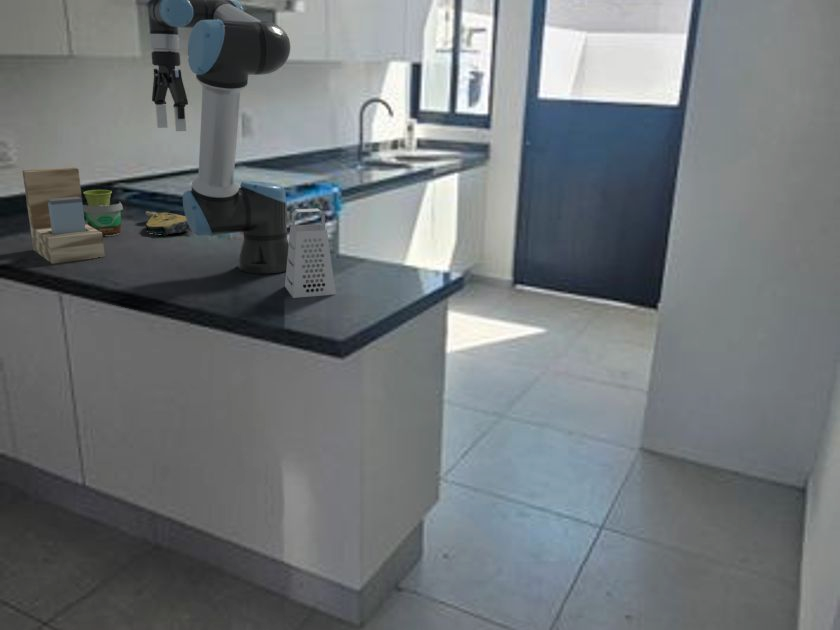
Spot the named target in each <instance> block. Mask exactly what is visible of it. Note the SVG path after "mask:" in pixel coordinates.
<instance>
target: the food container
mask: <svg viewBox="0 0 840 630" xmlns="http://www.w3.org/2000/svg"><path fill="white" fill-rule="evenodd" d="M123 209H124V208H123V204H122V203H121V201H118V203H116V204H115V203H114V204H110V205H98V206H88V204H87V205H86V204H83V212H84V216H85V218H86V219H85V220H86V224H87V225H89V226H91V227H93V228H94V229H96V230H98V231H100V232H102V236H105V235H113V234H117V233H120V232H121V233H122V231H121V230H122V229H121V228H122V227H121V226H122V224H121V222H122V210H123Z"/></svg>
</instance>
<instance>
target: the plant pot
mask: <svg viewBox="0 0 840 630" xmlns="http://www.w3.org/2000/svg"><path fill="white" fill-rule="evenodd" d="M112 193H113V192H112V190H110V189H109V190H108V189H92V190H91V189H90V190H86V191H83V195H84V197H85V198H86V203H87V206H98V205H111V198H112V197H111V195H112Z"/></svg>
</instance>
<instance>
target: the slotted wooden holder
mask: <svg viewBox="0 0 840 630" xmlns="http://www.w3.org/2000/svg"><path fill="white" fill-rule="evenodd" d="M21 172H22V177H23V185H24V191H25V192H24V193H25V199H26V208H27V213H28V214H27V215H28V219H29V220H28V221H29V228H30V235H31V236H30V237H31V241H32V248H33V249H32V250H33V251H35V252H36V253H37V254H38V255H40V256H41V257H43V259H45V260H46V261H48V262H49V263H51V264H52V265H54V264H61V263H68V262H78V261H84V260H92V258H93V259H99V258H98V257H100V258H106V256H105V247H104V246H105V245H104V237H103V236H102V232H100V231H98V230H96V229H94V228H93V227H91V226H89V225H88V224H87V223H85V229H86V232H77V233H68V234H59V235H52V230H51V222H50V215H49V207H48V200H47V199H54V198H66V197H80V198H82V197H83V196H82V188H81V181H80V172H79V168H77V167H75V166H74V167H60V168H59V167H57V168H56V167H55V168H41V169H40V168H39V169H23V170H22V171H21ZM82 199H83V198H82Z"/></svg>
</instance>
